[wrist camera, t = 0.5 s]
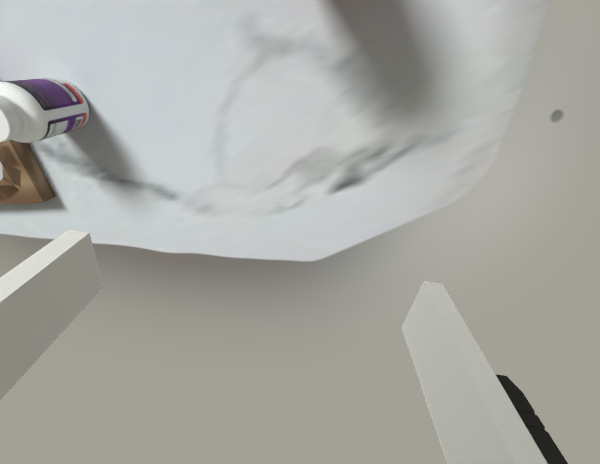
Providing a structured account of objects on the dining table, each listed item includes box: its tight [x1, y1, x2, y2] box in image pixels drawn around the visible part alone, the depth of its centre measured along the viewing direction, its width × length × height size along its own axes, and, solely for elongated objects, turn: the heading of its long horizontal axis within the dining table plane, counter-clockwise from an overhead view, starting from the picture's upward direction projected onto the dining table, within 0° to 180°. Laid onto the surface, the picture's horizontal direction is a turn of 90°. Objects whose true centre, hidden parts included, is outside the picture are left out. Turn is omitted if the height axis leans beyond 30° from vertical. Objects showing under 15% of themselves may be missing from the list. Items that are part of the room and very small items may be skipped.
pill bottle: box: [0, 78, 89, 143], centre depth 29 cm, size 5×5×10 cm
